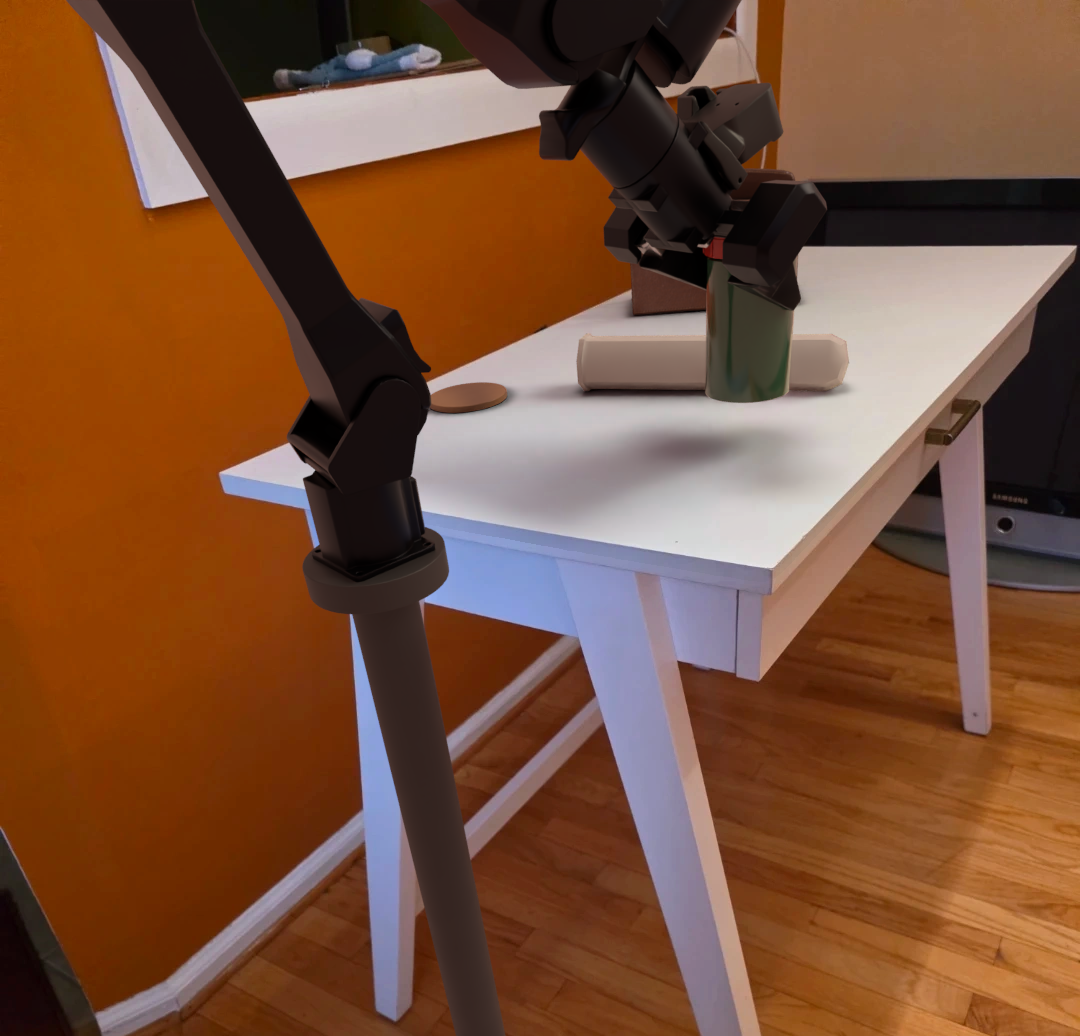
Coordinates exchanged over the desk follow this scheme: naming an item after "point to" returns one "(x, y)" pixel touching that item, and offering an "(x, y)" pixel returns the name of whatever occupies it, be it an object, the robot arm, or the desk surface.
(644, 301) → the letter holder
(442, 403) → the disc
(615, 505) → the desk surface
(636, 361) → the tube
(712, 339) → the jar
